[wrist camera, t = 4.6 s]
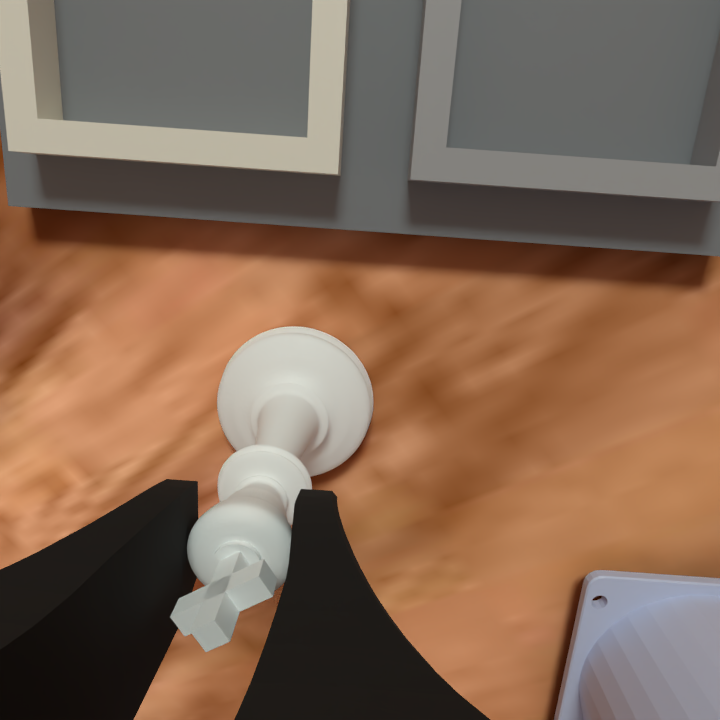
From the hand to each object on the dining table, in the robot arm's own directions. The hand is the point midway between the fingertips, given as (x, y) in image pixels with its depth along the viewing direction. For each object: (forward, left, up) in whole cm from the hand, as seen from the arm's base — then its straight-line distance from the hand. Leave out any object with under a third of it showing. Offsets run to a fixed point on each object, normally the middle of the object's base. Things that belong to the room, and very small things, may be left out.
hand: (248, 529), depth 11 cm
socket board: (+11, -2, -7) cm, 13 cm away
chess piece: (0, 0, -7) cm, 7 cm away
